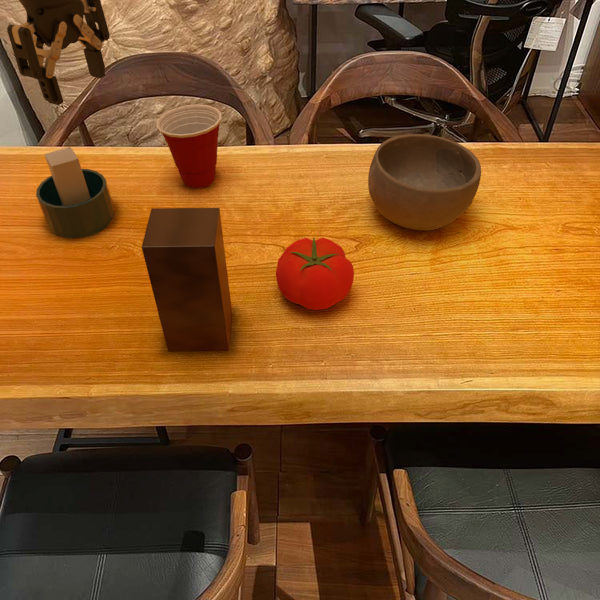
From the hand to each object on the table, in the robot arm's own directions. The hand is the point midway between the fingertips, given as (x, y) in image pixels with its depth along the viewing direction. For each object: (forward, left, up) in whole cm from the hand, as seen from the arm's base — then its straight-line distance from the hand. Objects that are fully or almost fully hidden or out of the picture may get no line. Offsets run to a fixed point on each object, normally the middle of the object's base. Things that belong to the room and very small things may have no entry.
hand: (77, 89), depth 79 cm
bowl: (+44, -24, -23) cm, 55 cm away
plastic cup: (+17, +4, -23) cm, 29 cm away
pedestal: (+2, -29, -23) cm, 37 cm away
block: (-4, +4, -22) cm, 23 cm away
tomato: (+19, -31, -23) cm, 43 cm away
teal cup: (-4, +4, -23) cm, 23 cm away
